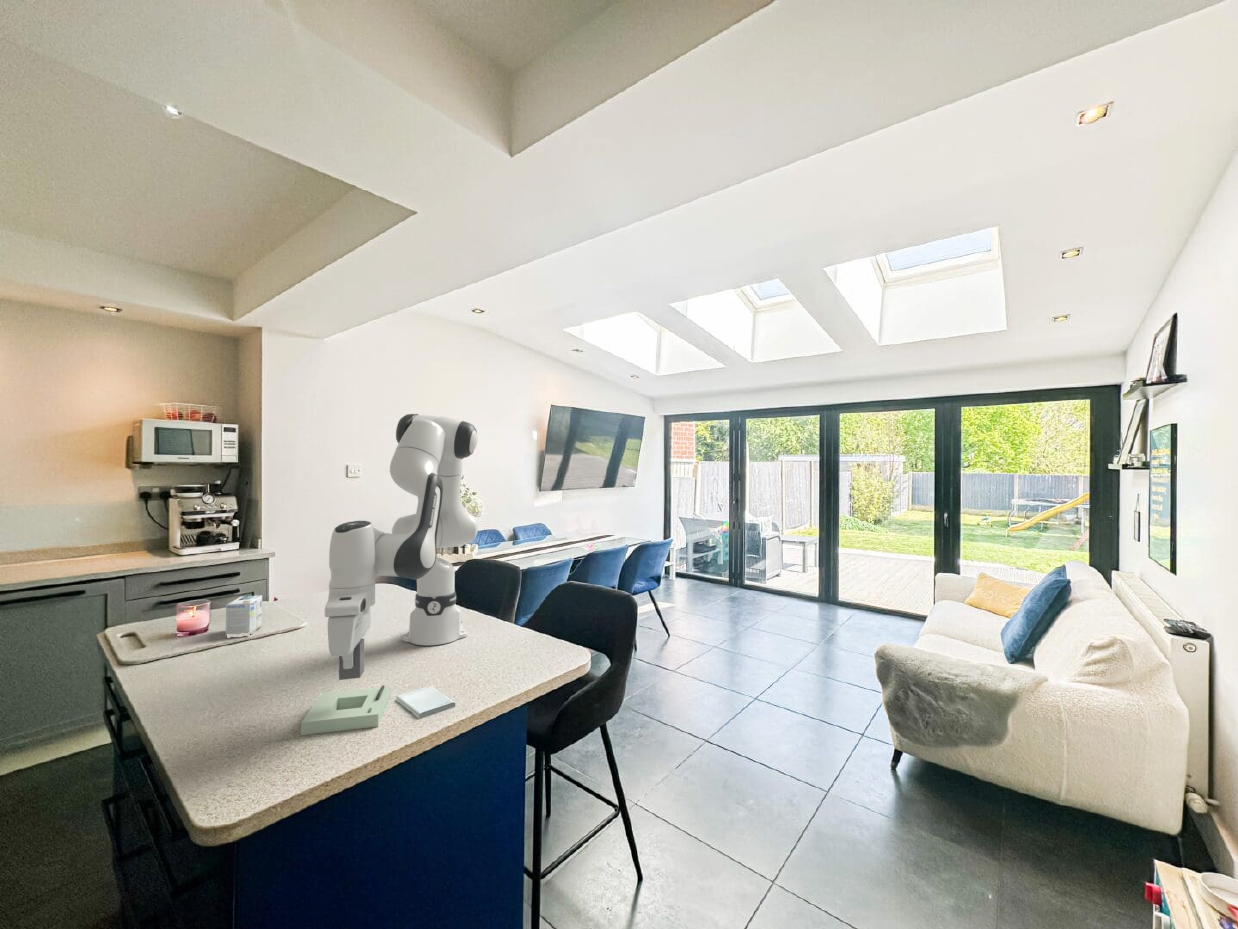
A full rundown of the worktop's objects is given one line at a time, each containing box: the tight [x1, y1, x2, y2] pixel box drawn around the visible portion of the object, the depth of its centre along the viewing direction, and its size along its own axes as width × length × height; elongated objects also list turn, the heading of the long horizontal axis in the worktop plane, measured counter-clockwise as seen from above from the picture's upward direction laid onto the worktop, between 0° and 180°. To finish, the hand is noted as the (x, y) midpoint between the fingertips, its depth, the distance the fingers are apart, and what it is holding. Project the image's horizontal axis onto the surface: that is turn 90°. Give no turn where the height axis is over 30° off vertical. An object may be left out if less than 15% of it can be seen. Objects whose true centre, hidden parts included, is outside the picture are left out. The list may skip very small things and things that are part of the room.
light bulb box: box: [225, 595, 263, 636], centre depth 164 cm, size 11×7×11 cm, turn 17°
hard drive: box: [395, 685, 456, 719], centre depth 114 cm, size 2×8×12 cm
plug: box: [338, 638, 365, 681], centre depth 109 cm, size 4×4×7 cm
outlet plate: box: [300, 685, 392, 736], centre depth 109 cm, size 14×14×3 cm
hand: (351, 663), depth 109 cm, fingers closed on plug, 4 cm apart
